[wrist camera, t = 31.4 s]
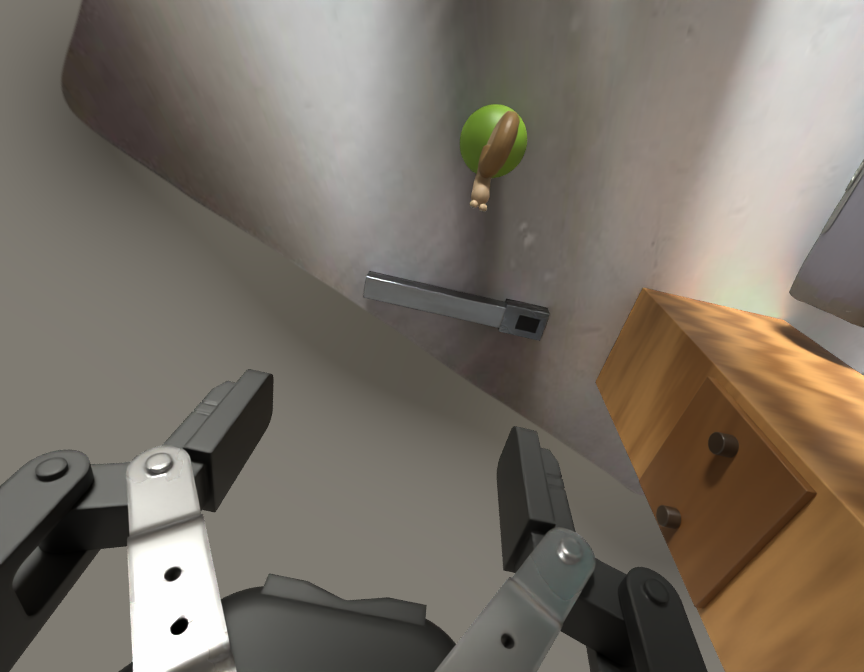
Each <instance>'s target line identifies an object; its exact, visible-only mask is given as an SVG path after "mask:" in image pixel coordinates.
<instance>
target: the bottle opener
mask: <svg viewBox="0 0 864 672" xmlns="http://www.w3.org/2000/svg"><path fill="white" fill-rule="evenodd" d="M363 297H364V298H368V299H373V300H377V301H382V302H386V303H391V304H395V305H399V306H404V307H408V308H413V309H417V310H422V311H426V312H430V313H435V314H439V315H444V316H448V317H453V318H457V319H461V320H466V321H470V322H475V323H479V324H484V325H488V326H493V327H497V328H498V330H499V332H503V333H508V334H512V335H517V336H521V337H526V338H530V339H534V340H539V341H540V339H541V337H542V334H543V332H544V329H545V326H546V324H547V321H548V319H549V316H550V313H549V310H548V308H546V307H541V306H537V305H532V304H528V303H524V302H519V301H515V300H510V299H506V301H505V302H503V301H499V300H494V299H490V298H485V297H481V296H477V295H472V294H468V293H463V292H459V291H455V290H450V289H446V288H441V287H437V286H433V285H428V284H424V283H419V282H415V281H411V280H406V279H402V278H398V277H393V276H389V275H384V274H380V273H376V272H371V271H369V273H368V274H367V276H366V281H365V288H364V295H363Z"/></svg>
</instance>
